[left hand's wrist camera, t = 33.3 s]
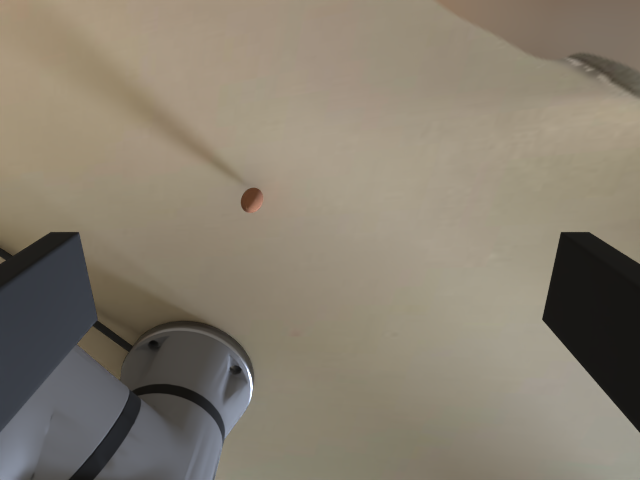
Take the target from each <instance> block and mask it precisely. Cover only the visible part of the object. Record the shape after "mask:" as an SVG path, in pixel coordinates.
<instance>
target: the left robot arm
mask: <svg viewBox="0 0 640 480" xmlns="http://www.w3.org/2000/svg"><path fill="white" fill-rule="evenodd" d="M0 257H2V258H3V259H5V260H6V261H4V262H3V263H1V264H0V480H214V479H215V475H216V471H217V467H218V463H219V459H220V455H221V451H222V447H223V443H224V439H225V438H226V436H227V435H228V434H229V432H230V431H231V430H232V428H233V427H234V425H235V424H236V423H237V421H238V420H239V419H240V417H241V416H242V415H243V413H244V412H245V410H246V409H247V407H248V405H249V402H250V399H251V395H252V390H253V385H254V372H253V367H252V364H251V361H250V359H249V357H248V355H247V354H246V352H245V351H244V349H243V348H242V347H241V346H240V344H239V343H237V342H236V341H235V340H234V339H233V338H232V337H231V336H229V335H228V334H226V333H224V332H223V331H221V330H219V329H217V328H214V327H212V326H209V325H206V324H202V323H197V322H189V321H179V322H171V323H166V324H162V325H159V326H157V327H155V328H153V329H151V330H149V331H147V332H146V333H145V334H143V335H142V336H141V337H140V338H139V339H138V340H137V341H136V343H135V344H134V345H133V346H132V345H130V344H129V343H128V342H126V341H125V340H123V339H122V338H121V337H119V336H118V335H116V334H115V333H114V332H112V331H111V330H110V329H108V328H107V327H105V326H104V325H103V324H101V323H100V322H99V321H97V320H98V318H97V314H96V309H95V304H94V300H93V295H92V290H91V286H90V281H89V276H88V272H87V267H86V263H85V258H84V253H83V249H82V244H81V239H80V235H79V232H50V233H49V234H47V235H46V236H44V237H42V238H41V239H39V240H38V241H36V242H35V243H33V244H31V245H30V246H28V247H27V248H25V249H23V250H22V251H20V252H19V253H17V254H16V255H14V256H12V255H10V254H9V253H7V252H6V251H4V250H3V249H1V248H0ZM542 320H543V321H544V322H545V323H546V324H547V326H548V327H549V328H550V329H551V330H552V331H553V333H554V334H555V335H556V336H557V337H558V338H559V340H560V341H561V342H562V343H563V344H564V345H565V346H566V348H567V349H568V350H569V351H570V352H571V353H572V355H573V356H574V357H575V358H576V359H577V360H578V362H579V363H580V364H581V365H582V366H583V367H584V368H585V370H586V371H587V372H588V373H589V374H590V375H591V377H592V378H593V379H594V380H595V381H596V382H597V384H598V385H599V386H600V387H601V388H602V389H603V390H604V392H605V393H606V394H607V395H608V396H609V397H610V399H611V400H612V401H613V402H614V403H615V404H616V406H617V407H618V408H619V409H620V410H621V411H622V412H623V414H624V415H625V416H626V417H627V418H628V419H629V421H630V422H631V423H632V424H633V425H634V426H635V428H636V429H637V430H638V431H639V432H640V264H639V263H637V262H636V261H634V260H632V259H631V258H629V257H628V256H626V255H624V254H623V253H621V252H620V251H618V250H617V249H615V248H613V247H612V246H610V245H609V244H607V243H605V242H604V241H602V240H601V239H599V238H598V237H596V236H594V235H593V234H591V233H590V232H561V235H560V239H559V244H558V249H557V253H556V258H555V263H554V267H553V272H552V276H551V281H550V286H549V290H548V295H547V300H546V304H545V309H544V314H543V318H542ZM92 326H94V327H95V328H97V329H98V330H99V331H101V332H102V333H103V334H105V335H106V336H108V337H109V338H110V339H112V340H113V341H115V342H116V343H117V344H119V345H120V346H121V347H123V348H124V349H126V350H127V351H128V352H129V353H128V355H127V356H126V358H125V360H124V362H123V365H122V370H121V378H120V381H119V380H118V379H117V378H116V377H115V376H113V375H112V374H111V373H110V372H109V371H107V370H106V369H105V368H104V367H103V366H101V365H100V364H99V363H98V362H97V361H96V360H94V359H93V358H92V357H91V356H90V355H89V354H87V353H86V352H85V351H84V350H83V349H82V348H80V347H79V346H78V345H77V343H78V342H79V341H80V340H81V338H82V337H83V336H84V335H85V334H86V333H87V331H88V330H89V329H90V328H91V327H92Z"/></svg>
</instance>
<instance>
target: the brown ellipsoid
mask: <svg viewBox="0 0 640 480" xmlns="http://www.w3.org/2000/svg"><path fill="white" fill-rule="evenodd" d="M262 203H263V194H262V192H261V191H260V190H259V189H257V188H250V189H248V190H247V191H246V192H245V193H244V194H243V196H242V199H241V206H242V208H243V210H244V211H246V212H248V213H253V212H255V211H257V210H258V209H259V208H260V207H261V205H262Z"/></svg>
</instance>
